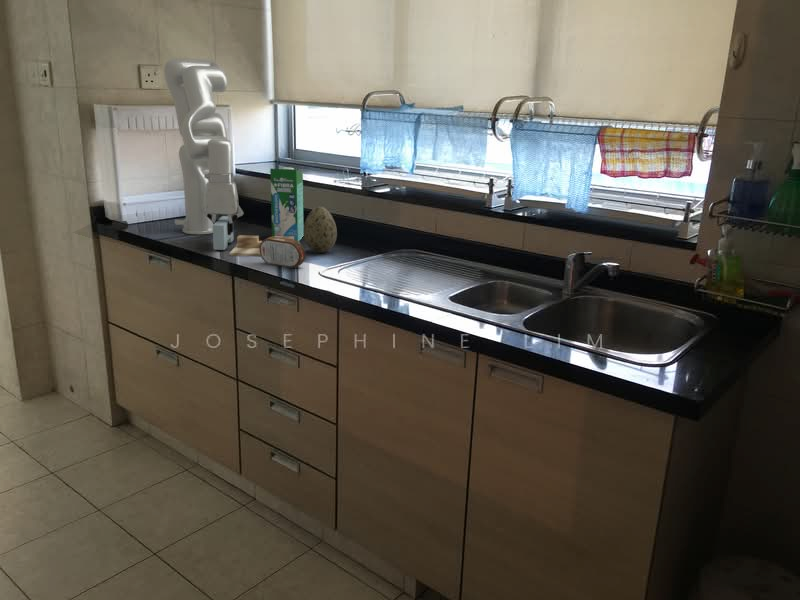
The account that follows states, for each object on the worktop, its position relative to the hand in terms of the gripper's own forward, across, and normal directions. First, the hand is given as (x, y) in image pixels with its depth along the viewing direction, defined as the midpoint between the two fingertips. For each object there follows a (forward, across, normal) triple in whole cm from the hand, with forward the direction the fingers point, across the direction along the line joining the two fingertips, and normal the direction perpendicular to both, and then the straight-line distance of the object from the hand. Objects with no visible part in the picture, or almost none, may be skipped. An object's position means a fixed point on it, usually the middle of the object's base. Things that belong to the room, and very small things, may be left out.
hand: (223, 233), depth 226 cm
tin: (+4, +22, -23) cm, 32 cm away
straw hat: (+4, +14, -3) cm, 15 cm away
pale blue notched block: (+4, 0, 0) cm, 4 cm away
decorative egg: (+4, +32, -5) cm, 33 cm away
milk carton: (+5, +19, +14) cm, 25 cm away
